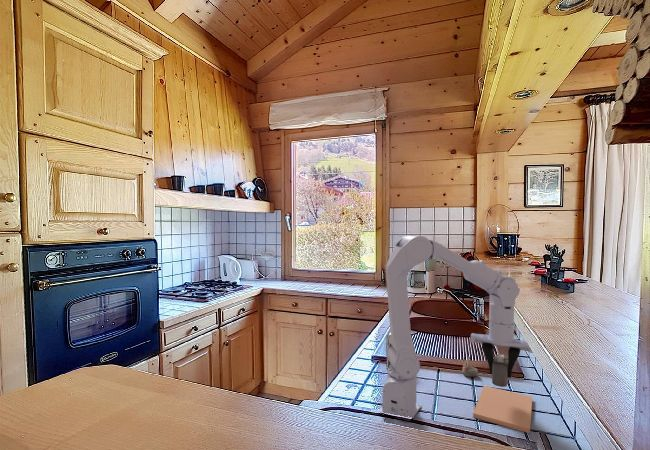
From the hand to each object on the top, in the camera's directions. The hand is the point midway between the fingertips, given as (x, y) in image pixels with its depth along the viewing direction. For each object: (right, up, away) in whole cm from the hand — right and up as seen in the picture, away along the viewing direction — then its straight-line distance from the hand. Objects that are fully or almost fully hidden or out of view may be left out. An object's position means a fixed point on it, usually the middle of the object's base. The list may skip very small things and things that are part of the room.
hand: (500, 374), depth 91 cm
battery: (-22, -8, +24) cm, 33 cm away
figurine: (0, -9, +20) cm, 22 cm away
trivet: (+1, -9, -1) cm, 9 cm away
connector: (0, -2, 0) cm, 2 cm away
